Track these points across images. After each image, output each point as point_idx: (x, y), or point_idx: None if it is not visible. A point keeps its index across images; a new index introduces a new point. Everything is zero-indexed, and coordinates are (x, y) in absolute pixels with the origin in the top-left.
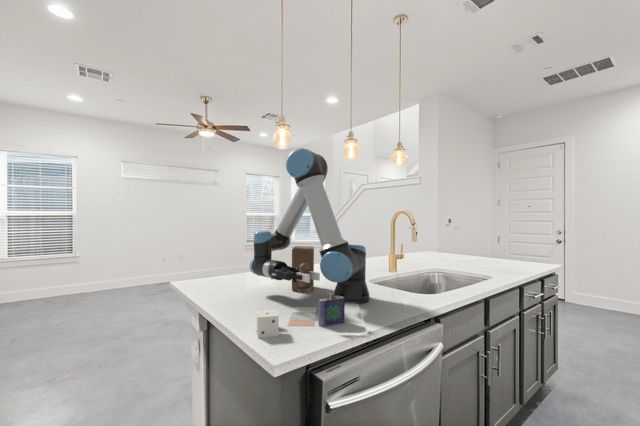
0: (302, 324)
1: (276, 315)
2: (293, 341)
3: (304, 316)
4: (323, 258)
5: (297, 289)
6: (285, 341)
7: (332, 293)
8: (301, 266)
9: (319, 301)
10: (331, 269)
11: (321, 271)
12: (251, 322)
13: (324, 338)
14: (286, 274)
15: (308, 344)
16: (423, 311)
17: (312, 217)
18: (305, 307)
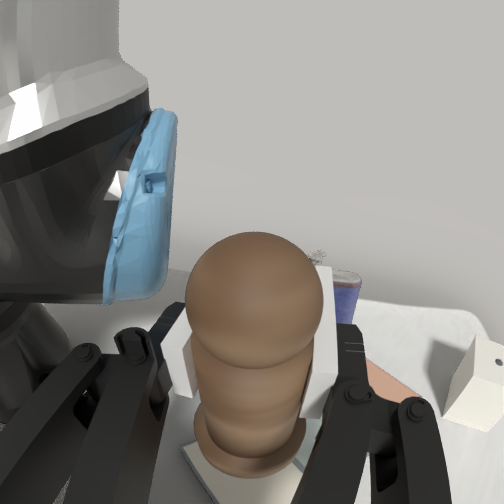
0: (376, 378)
1: (479, 339)
2: (431, 342)
3: (321, 421)
4: (169, 156)
5: (293, 456)
6: (445, 350)
7: (314, 251)
8: (316, 273)
9: (361, 281)
10: (168, 218)
11: (158, 266)
12: (483, 494)
13: (369, 318)
14: (432, 439)
15: (410, 321)
16: None
17: None
18: (213, 487)
